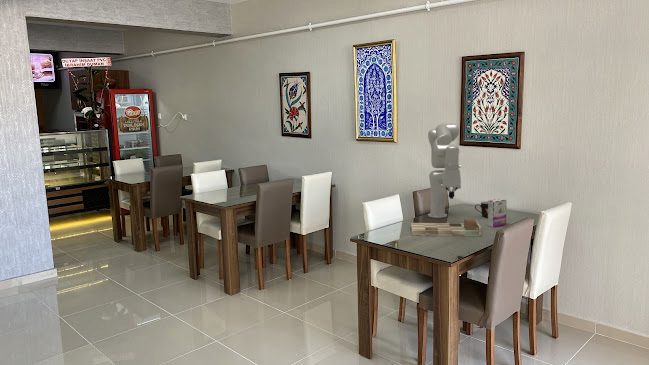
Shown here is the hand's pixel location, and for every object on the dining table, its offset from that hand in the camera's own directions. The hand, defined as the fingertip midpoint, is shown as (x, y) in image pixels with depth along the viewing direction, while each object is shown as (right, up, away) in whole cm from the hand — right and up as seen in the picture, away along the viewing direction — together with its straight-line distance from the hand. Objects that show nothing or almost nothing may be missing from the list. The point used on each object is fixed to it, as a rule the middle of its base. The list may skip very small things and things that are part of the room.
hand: (451, 198), depth 285 cm
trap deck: (-3, -20, +7) cm, 22 cm away
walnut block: (+11, -18, +1) cm, 21 cm away
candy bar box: (+33, -18, +18) cm, 42 cm away
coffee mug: (+34, -14, +42) cm, 56 cm away
